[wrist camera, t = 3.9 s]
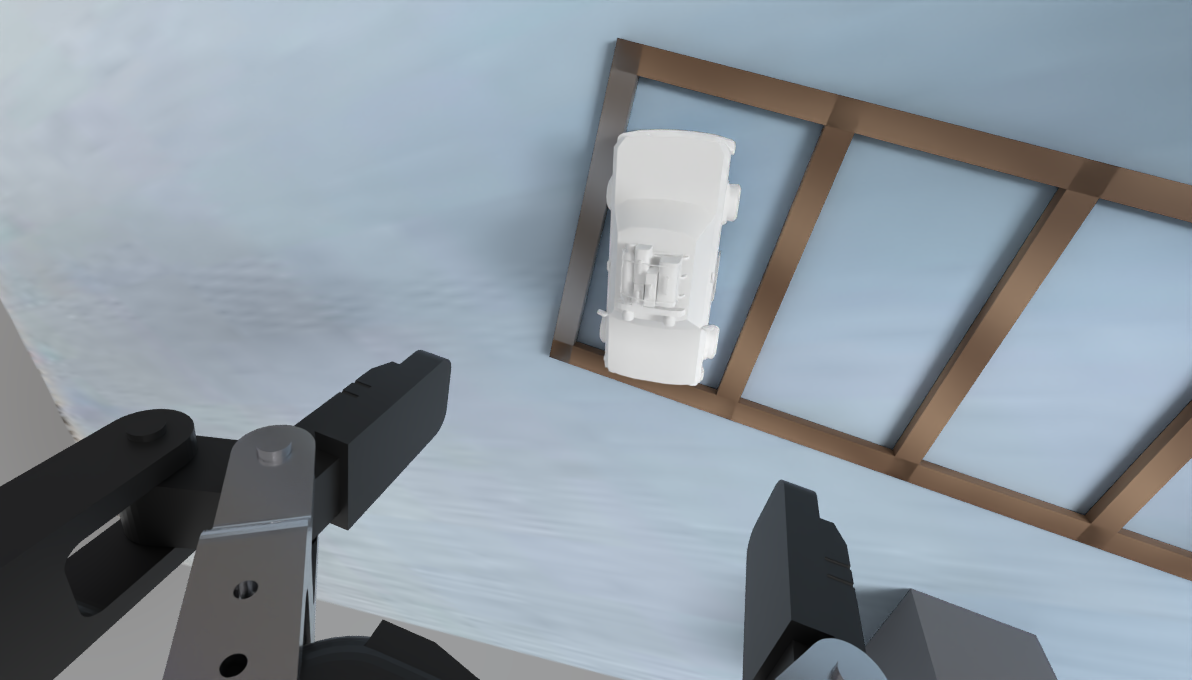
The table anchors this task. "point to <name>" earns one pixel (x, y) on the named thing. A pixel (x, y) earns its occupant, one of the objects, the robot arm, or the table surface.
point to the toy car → (665, 252)
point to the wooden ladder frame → (998, 315)
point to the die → (953, 645)
